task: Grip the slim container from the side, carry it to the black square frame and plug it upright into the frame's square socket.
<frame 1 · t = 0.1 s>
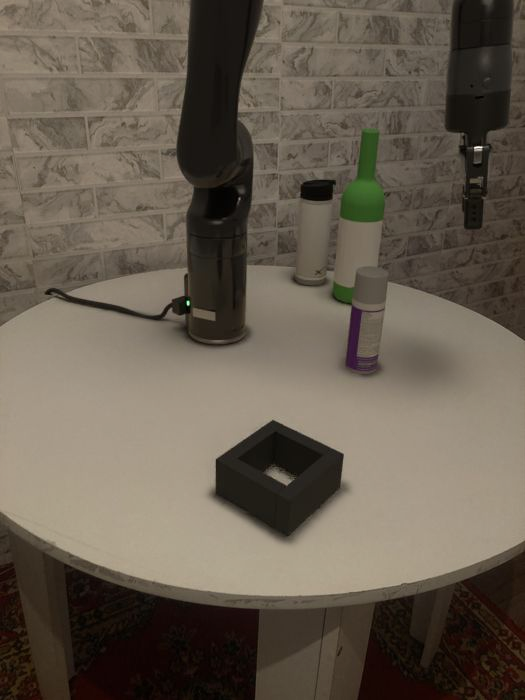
hand: (471, 220, 79), 22 cm above the table, tool pointing down, fingers open, 8 cm apart
container: (360, 367, 89), on the table
wine bottle: (352, 298, 113), on the table
black square frame: (278, 489, 64), on the table
travel mug: (311, 281, 120), on the table
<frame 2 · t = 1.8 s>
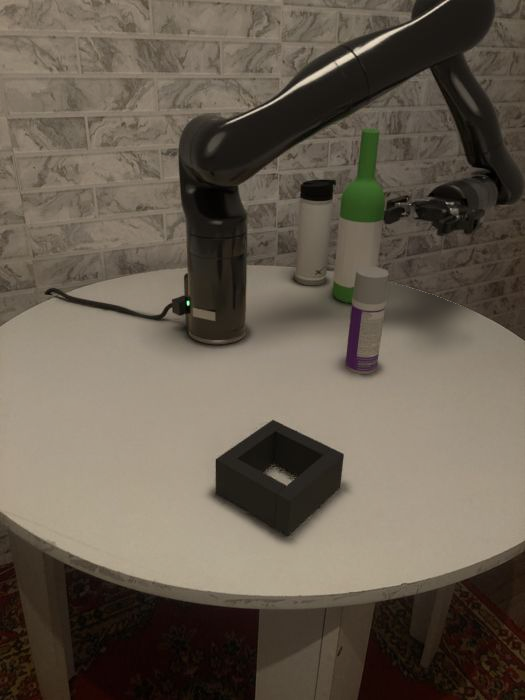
hand: (412, 223, 87), 20 cm above the table, tool horizontal, fingers open, 8 cm apart
nothing on the table moved.
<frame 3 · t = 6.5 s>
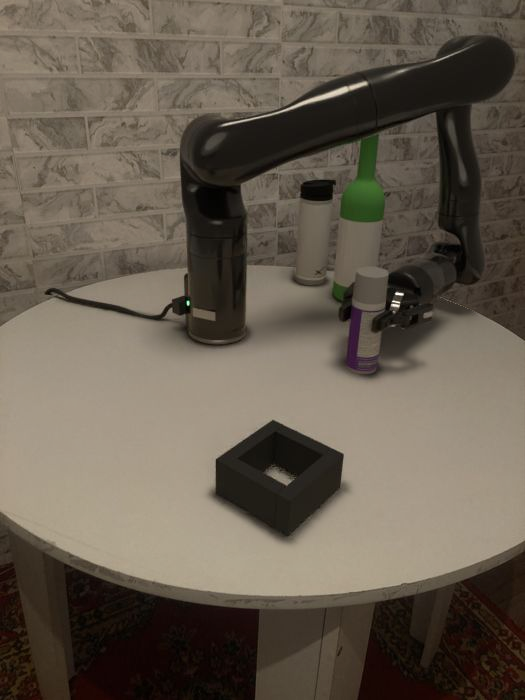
hand: (357, 320, 83), 8 cm above the table, tool horizontal, fingers closed on container, 4 cm apart
container: (360, 367, 89), on the table, touching gripper
everything else where it was.
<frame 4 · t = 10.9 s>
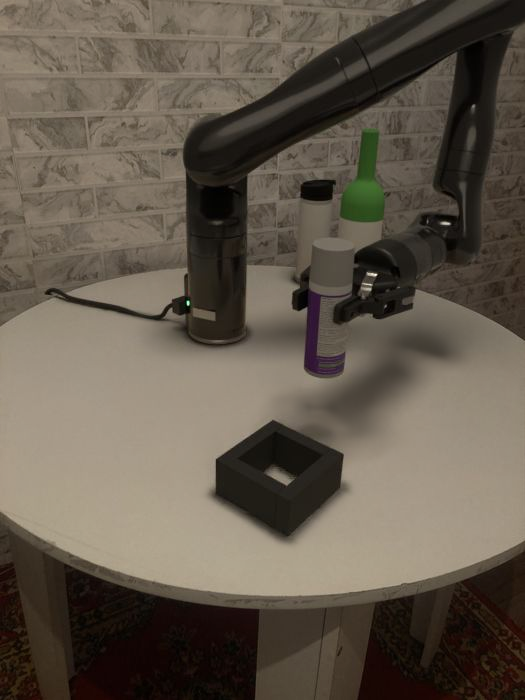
hand: (315, 308, 63), 18 cm above the table, tool horizontal, fingers closed on container, 4 cm apart
container: (323, 369, 69), point 9 cm above the table, touching gripper
everything else where it was.
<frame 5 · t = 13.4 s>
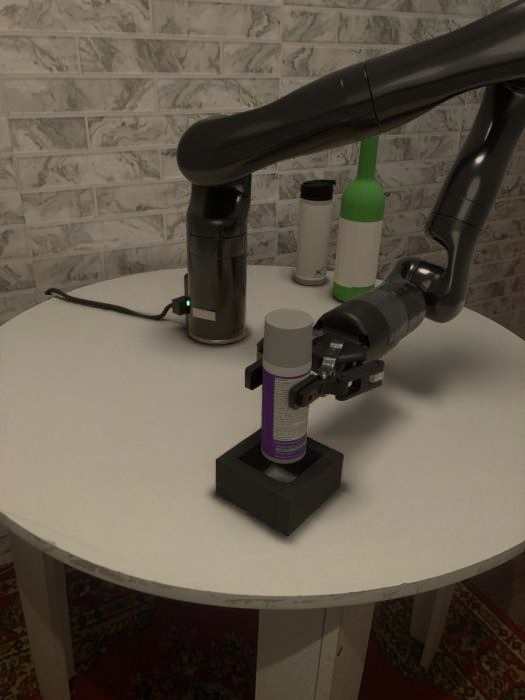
hand: (269, 390, 56), 14 cm above the table, tool horizontal, fingers closed on container, 4 cm apart
container: (283, 450, 62), point 5 cm above the table, touching gripper
everything else where it was.
when the fingers open (8 cm above the table, at t = 15.3 s): container stays where it is, resting in black square frame.
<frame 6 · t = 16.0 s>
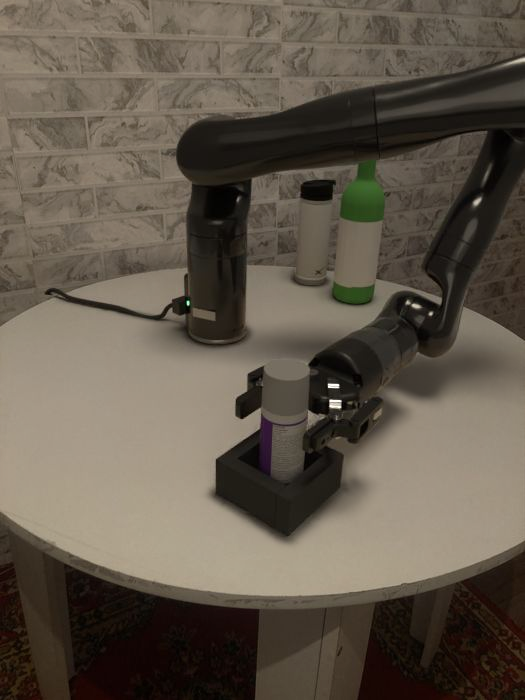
hand: (270, 427, 58), 9 cm above the table, tool horizontal, fingers open, 8 cm apart
container: (280, 491, 64), resting in black square frame
everything else where it was.
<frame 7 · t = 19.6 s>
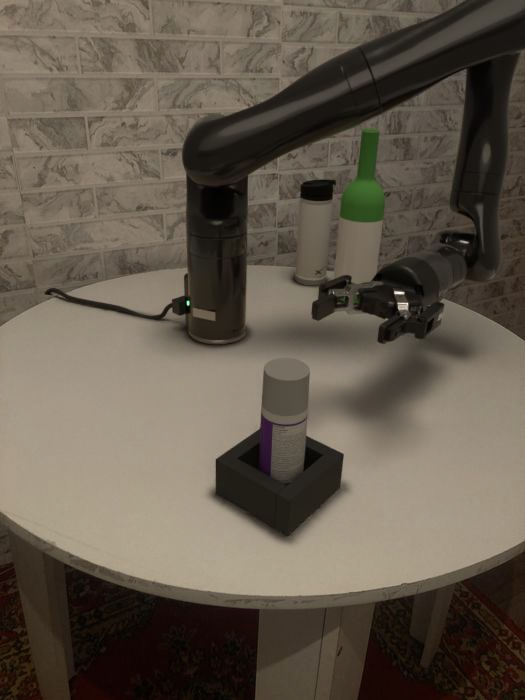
hand: (346, 323, 66), 15 cm above the table, tool horizontal, fingers open, 8 cm apart
nothing on the table moved.
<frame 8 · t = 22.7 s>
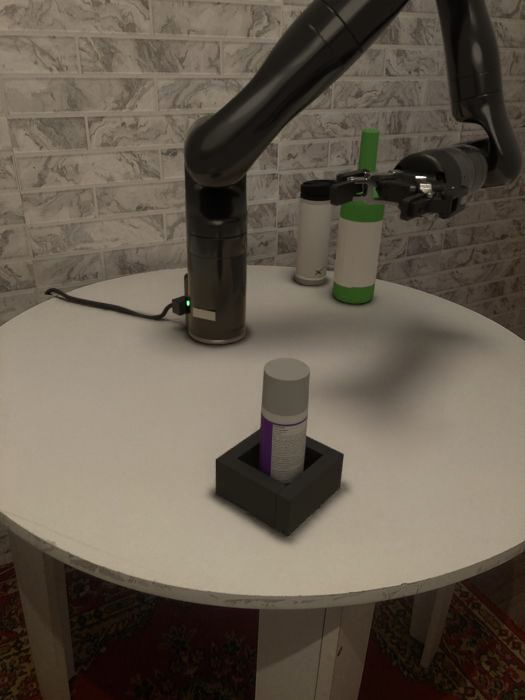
hand: (367, 203, 63), 28 cm above the table, tool horizontal, fingers open, 8 cm apart
nothing on the table moved.
at the end: container 0.1 cm off-centre in the black square frame, point 0.0 cm above the black square frame's base; container tilted 0°; the gripper is holding nothing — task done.
